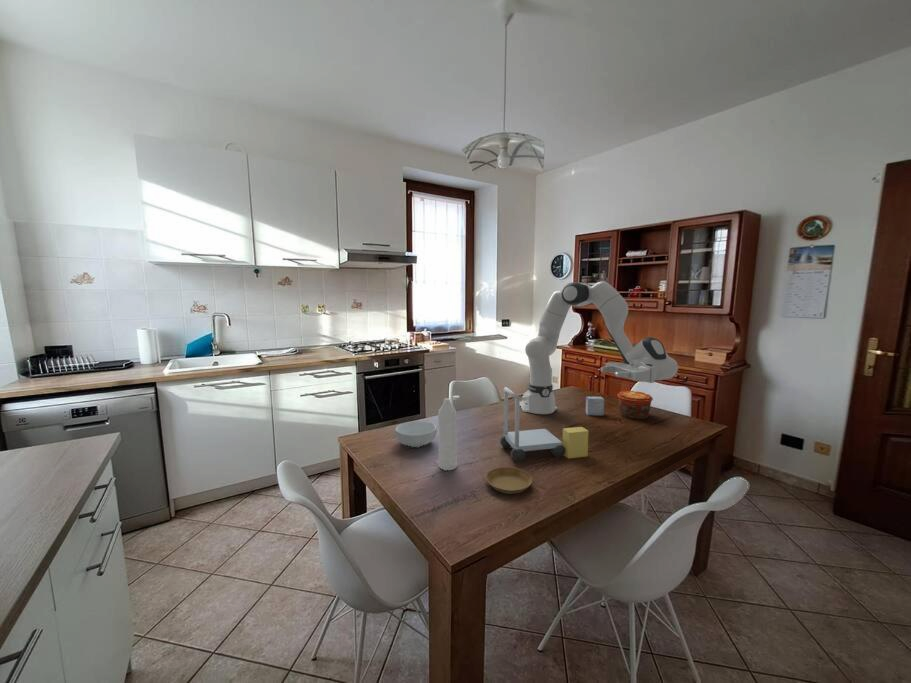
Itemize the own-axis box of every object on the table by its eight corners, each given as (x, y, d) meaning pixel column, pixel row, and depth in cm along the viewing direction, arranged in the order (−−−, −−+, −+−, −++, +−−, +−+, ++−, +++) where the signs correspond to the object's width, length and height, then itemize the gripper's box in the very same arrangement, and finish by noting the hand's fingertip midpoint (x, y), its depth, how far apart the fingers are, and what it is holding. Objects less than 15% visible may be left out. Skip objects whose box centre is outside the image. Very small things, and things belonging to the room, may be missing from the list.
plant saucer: (508, 469, 127) (508, 462, 127) (541, 487, 116) (541, 479, 115) (476, 483, 118) (476, 475, 118) (508, 503, 107) (509, 495, 106)
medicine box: (601, 413, 185) (601, 396, 184) (603, 415, 181) (604, 399, 180) (585, 412, 186) (585, 396, 185) (587, 415, 182) (588, 398, 181)
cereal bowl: (445, 443, 150) (444, 426, 149) (414, 456, 138) (414, 438, 137) (418, 432, 161) (417, 417, 160) (387, 444, 149) (387, 427, 148)
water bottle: (447, 472, 125) (446, 402, 122) (435, 466, 130) (434, 398, 126) (465, 464, 131) (464, 397, 127) (453, 458, 136) (452, 394, 132)
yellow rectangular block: (562, 453, 139) (563, 428, 138) (581, 451, 141) (582, 426, 140) (568, 458, 135) (569, 432, 134) (587, 456, 137) (588, 431, 135)
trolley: (499, 447, 145) (500, 387, 142) (548, 442, 150) (549, 383, 146) (512, 462, 132) (513, 396, 129) (565, 457, 136) (567, 393, 133)
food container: (611, 415, 181) (612, 395, 180) (622, 408, 193) (623, 388, 191) (646, 423, 170) (647, 401, 169) (655, 414, 182) (656, 394, 180)
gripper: (622, 358, 156) (593, 359, 153) (658, 367, 136) (625, 369, 133) (622, 372, 157) (593, 374, 154) (657, 383, 137) (625, 386, 134)
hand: (608, 372), depth 143 cm, fingers open, 8 cm apart
